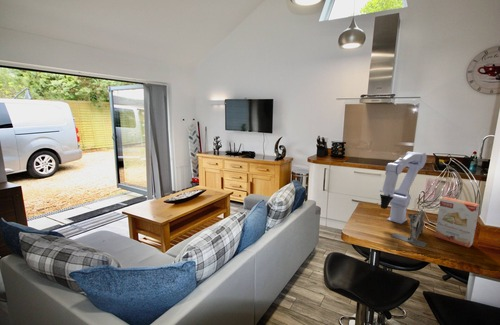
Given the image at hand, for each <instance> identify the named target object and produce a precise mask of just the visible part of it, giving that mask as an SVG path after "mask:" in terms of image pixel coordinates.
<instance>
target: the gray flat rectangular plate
mask: <svg viewBox="0 0 500 325" xmlns="http://www.w3.org/2000/svg"><path fill="white" fill-rule="evenodd" d="M390 237H391V238H394V239H398V240H401V241H403V242H407V243H409V244H412V245H414V246H418V247H421V248H424V247H426V246H427V244H428V243H427V242H425V241H421V240H418V239H417V240H411V241H408V240H407V239H408V238H410V236H406V235H403V234H400V233H398V232H394V233H393V234H391V235H390Z"/></svg>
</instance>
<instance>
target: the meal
mask: <svg viewBox="0 0 500 325" xmlns="http://www.w3.org/2000/svg"><path fill="white" fill-rule="evenodd" d="M424 217H425V211H424V210H423V209H420V210H419V212H418V213H416V212H415V213H409V214H408V213H407V218H409V229H410V234H409V238H408V239H407V240H408V241H411V240H418V238H419V236H420V235H421V234H423V233H424V226H425V223H424V222H425V219H424Z"/></svg>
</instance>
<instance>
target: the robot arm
mask: <svg viewBox="0 0 500 325" xmlns="http://www.w3.org/2000/svg"><path fill="white" fill-rule="evenodd" d="M427 157H428V156H427V154H426V152H417V151H407V152H406V153H405V156H404V157H399V158H398V159H396V160H394V162H388V163H387V164H386V166H385V178H384V181H383V182H384V183H383V186H382V190H381V189H380V190H379V192H381V193H383V194H381V193H380V195H379V196H380V208H381V209H382V210H387V208H388V207H389V205H390V213H389V217H388V218H386V220H387V221H391V222H395V223H398V224H400V225H401V224H404V223H405V222H406V221H407V220H408V219H407V218H406V217H407V208H408V207H409V206H410V203H411V200H412V199H411V195H410V193H409V191H410V189H411V187H412V185H413V183H414V181H415V179H416V177H417V175H418V172H419V171H420V170H421V169H423V168H424V167H425V164H426V162H427ZM406 167H408V170H407V172H406V174H405V176H404V178H403V180H402V182H401V183H400V185H399V187H398V188H397V189H396V186H397V181H398V179H399V175H401V173H402V172H403V170H404V169H405V168H406Z"/></svg>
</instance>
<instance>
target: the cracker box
mask: <svg viewBox="0 0 500 325" xmlns="http://www.w3.org/2000/svg"><path fill="white" fill-rule="evenodd" d="M480 206H481V205H480V203H477V202H471V201H467V200H463V199H458V198H453V197H448V196H443V197H441V198H440V201H439V208H438V213H437V219H436V227H435V232H434V237H435V238H438V239H441V240H444V241H447V242H451V243H453V244H456V245H460V246H462V247H466V248H471V247H472V245H473V242H474V238H475V233H476V229H477V223H478V217H479V210H480Z"/></svg>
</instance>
